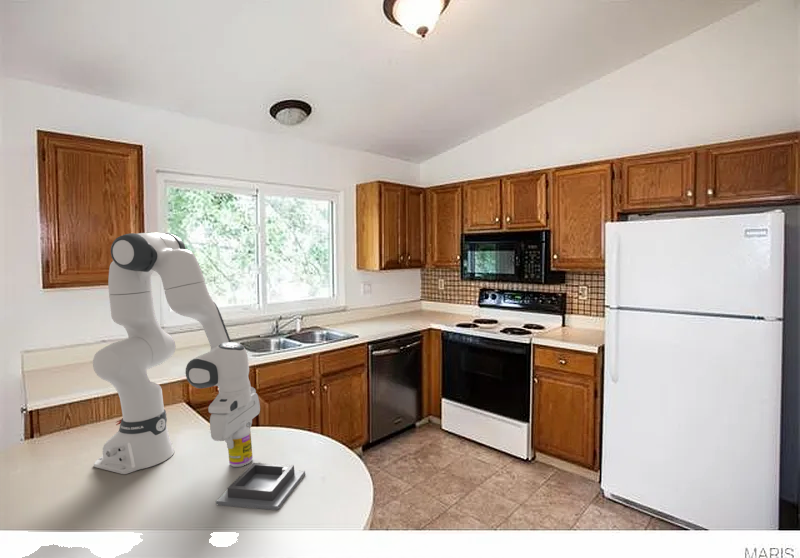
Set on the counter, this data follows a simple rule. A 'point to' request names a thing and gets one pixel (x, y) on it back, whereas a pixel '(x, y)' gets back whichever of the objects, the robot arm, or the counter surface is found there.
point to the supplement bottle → (241, 447)
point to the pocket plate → (262, 486)
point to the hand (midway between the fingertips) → (239, 441)
